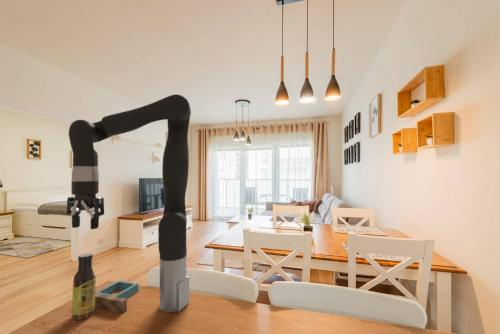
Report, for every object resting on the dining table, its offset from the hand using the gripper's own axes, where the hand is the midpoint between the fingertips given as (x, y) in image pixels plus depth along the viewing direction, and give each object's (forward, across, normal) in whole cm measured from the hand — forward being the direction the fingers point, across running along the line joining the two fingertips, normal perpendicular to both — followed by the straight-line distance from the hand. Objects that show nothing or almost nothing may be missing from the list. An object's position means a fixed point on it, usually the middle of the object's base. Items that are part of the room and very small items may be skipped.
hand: (84, 228), depth 79 cm
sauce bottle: (+29, 0, 0) cm, 29 cm away
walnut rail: (+29, -2, -6) cm, 29 cm away
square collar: (+29, 0, -13) cm, 32 cm away
